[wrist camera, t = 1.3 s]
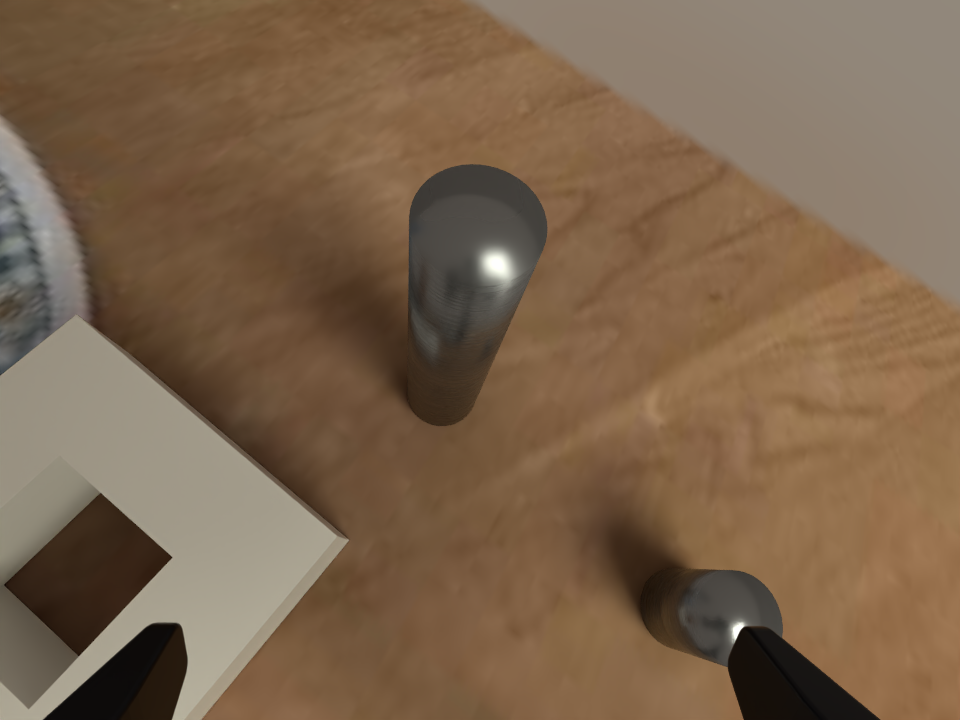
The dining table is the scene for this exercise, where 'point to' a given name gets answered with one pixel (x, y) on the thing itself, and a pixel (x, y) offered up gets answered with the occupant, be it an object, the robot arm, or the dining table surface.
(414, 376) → the long pin
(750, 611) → the short pin
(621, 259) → the dining table surface
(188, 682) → the collar
